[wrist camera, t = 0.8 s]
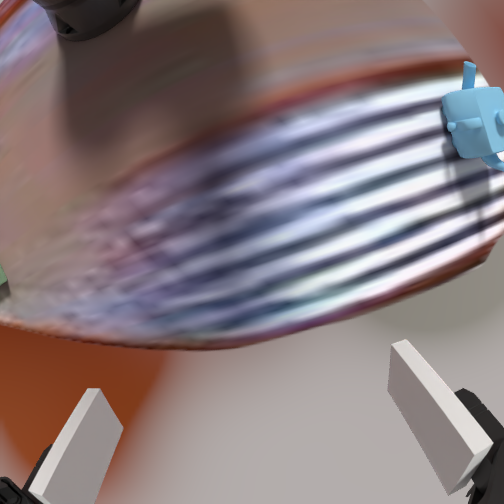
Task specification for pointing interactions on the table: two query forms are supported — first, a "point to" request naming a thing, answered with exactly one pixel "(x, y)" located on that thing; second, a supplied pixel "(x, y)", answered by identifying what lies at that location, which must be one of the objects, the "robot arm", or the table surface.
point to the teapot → (476, 119)
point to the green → (2, 276)
